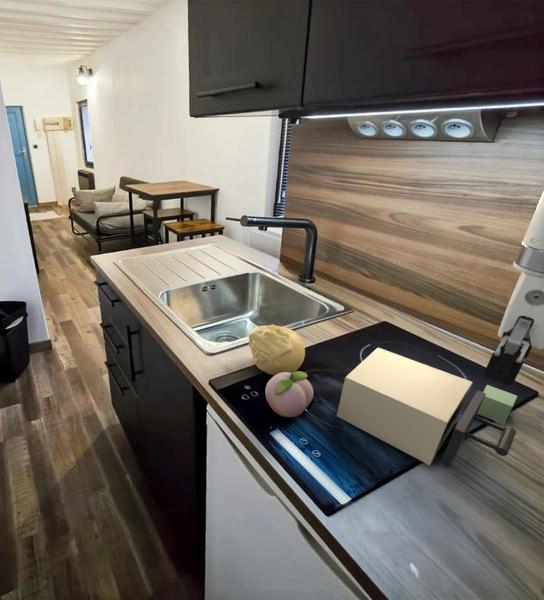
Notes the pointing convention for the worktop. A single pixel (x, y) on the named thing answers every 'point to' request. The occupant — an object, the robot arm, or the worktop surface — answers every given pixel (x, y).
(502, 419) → the block
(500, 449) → the dark grey drawer
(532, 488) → the worktop surface
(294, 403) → the decorative fruit
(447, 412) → the cream rectangular box
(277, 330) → the tan lumpy ball
